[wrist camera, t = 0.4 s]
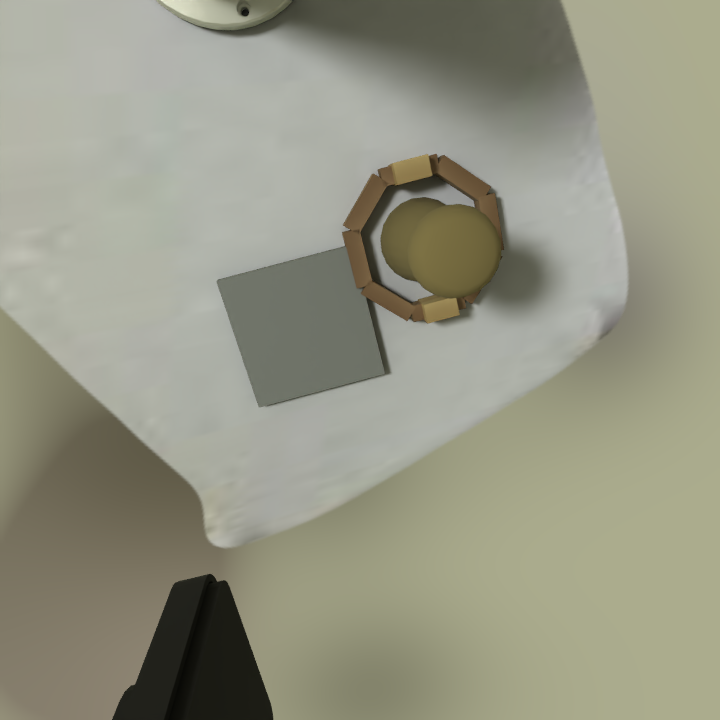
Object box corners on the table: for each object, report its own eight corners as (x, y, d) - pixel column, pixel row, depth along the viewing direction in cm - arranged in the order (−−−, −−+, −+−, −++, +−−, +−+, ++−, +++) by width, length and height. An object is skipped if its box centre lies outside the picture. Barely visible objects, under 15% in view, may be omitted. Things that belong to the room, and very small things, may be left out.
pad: (218, 279, 38) (216, 281, 37) (351, 244, 38) (352, 245, 37) (259, 403, 41) (258, 407, 40) (383, 370, 41) (385, 373, 40)
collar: (328, 180, 37) (329, 179, 35) (480, 141, 37) (491, 137, 35) (367, 331, 40) (370, 338, 38) (506, 294, 40) (516, 299, 38)
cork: (399, 184, 37) (433, 177, 27) (475, 215, 38) (536, 221, 28) (368, 264, 39) (389, 289, 28) (442, 293, 40) (488, 326, 29)
